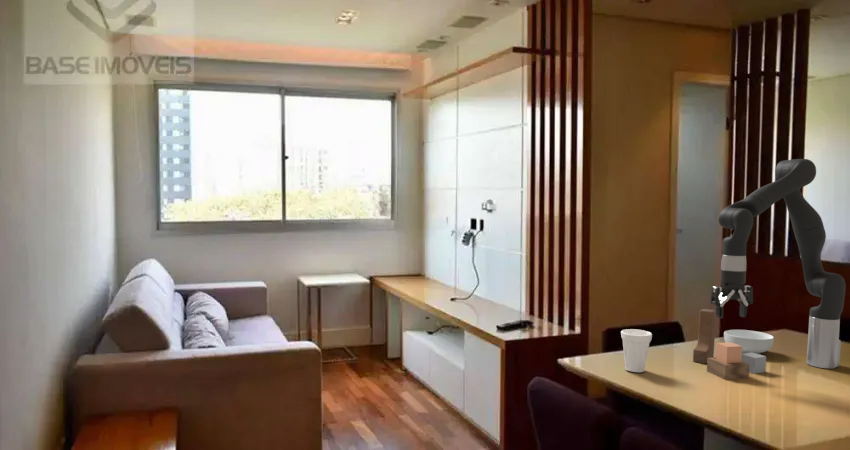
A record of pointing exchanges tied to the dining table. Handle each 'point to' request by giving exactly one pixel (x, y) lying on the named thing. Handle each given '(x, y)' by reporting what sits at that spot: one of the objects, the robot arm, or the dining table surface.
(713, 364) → the walnut base block
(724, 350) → the terracotta cube
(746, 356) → the slate cube
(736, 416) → the dining table surface
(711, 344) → the wooden block
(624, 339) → the cup
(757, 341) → the cereal bowl
